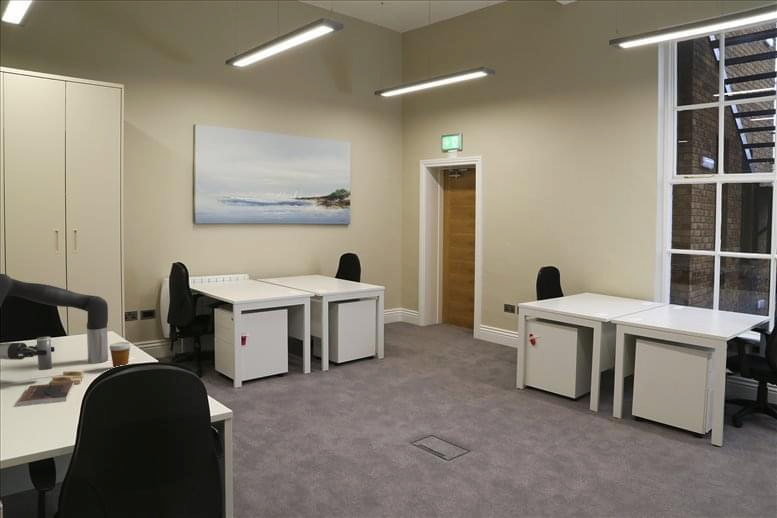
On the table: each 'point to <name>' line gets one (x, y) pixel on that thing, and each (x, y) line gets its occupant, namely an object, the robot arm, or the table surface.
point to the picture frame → (46, 393)
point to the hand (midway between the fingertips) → (50, 350)
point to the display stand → (68, 377)
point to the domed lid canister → (44, 360)
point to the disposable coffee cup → (120, 353)
